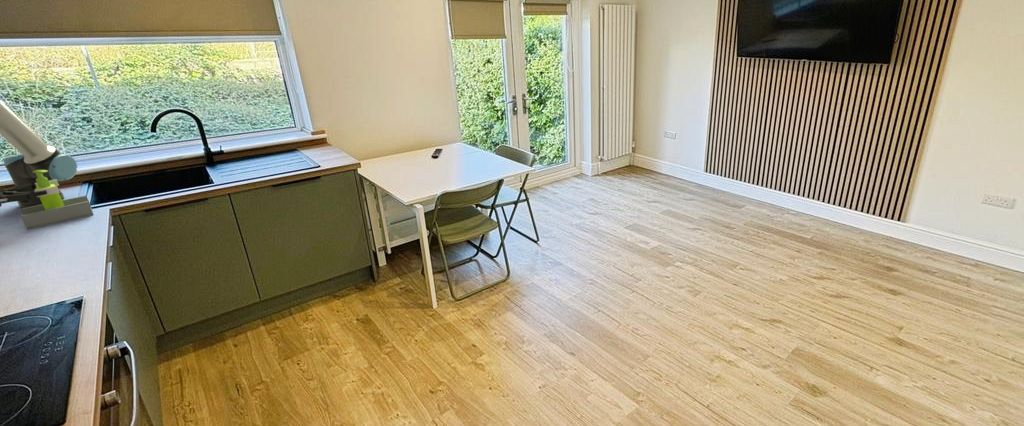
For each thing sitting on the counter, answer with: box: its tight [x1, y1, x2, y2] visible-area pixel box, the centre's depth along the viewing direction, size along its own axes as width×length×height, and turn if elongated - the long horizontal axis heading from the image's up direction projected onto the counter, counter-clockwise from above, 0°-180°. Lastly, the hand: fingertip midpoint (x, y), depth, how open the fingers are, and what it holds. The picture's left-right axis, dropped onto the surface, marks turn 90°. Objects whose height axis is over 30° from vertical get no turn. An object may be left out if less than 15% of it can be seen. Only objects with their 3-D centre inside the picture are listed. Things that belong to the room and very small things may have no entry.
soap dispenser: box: [32, 170, 64, 210], centre depth 184 cm, size 6×7×20 cm
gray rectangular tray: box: [20, 195, 94, 231], centre depth 188 cm, size 12×20×6 cm, turn 134°
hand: (58, 185), depth 186 cm, fingers open, 13 cm apart
